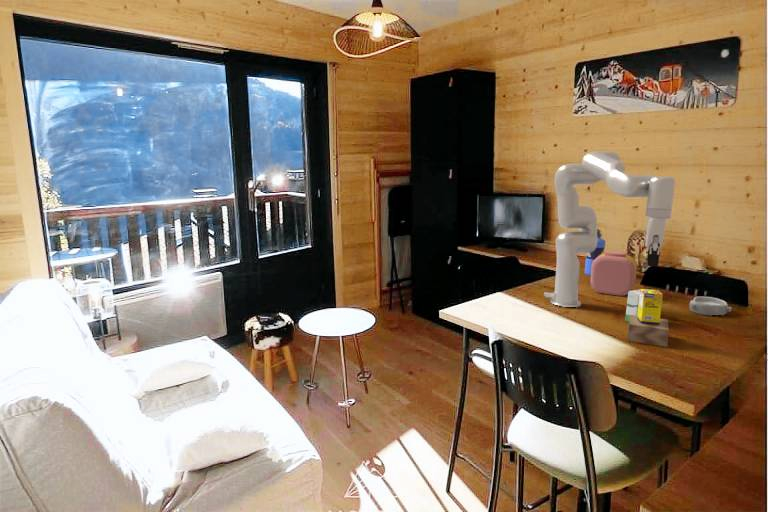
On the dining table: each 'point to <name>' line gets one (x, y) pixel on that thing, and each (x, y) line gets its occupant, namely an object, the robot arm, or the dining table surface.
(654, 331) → the walnut block
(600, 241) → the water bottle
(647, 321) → the supplement box
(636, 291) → the ink box
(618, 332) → the dining table surface
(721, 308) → the dish
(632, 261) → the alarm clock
